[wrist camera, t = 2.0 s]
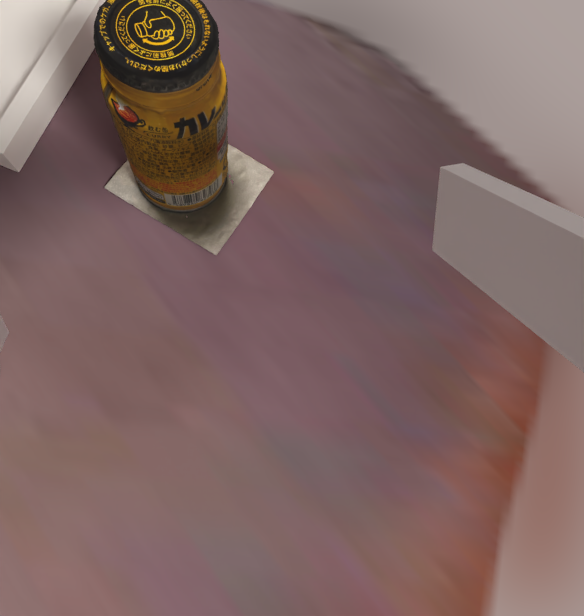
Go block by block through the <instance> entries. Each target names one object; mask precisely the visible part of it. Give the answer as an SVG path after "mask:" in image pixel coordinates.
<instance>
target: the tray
mask: <svg viewBox="0 0 584 616" xmlns="http://www.w3.org/2000/svg"><path fill="white" fill-rule="evenodd" d="M105 1H106V0H0V165H1V166H4V167H6V168H9V169H11V170H14V171H16V172H20V170H21V169H22V167H23V165H24V164H25V162H26V160H27V159H28V157H29V155H30V154H31V152H32V151H33V149H34V147H35V146H36V144H37V142H38V141H39V139H40V137H41V136H42V134H43V132H44V131H45V129H46V127H47V126H48V124H49V123H50V121H51V119H52V118H53V116H54V114H55V113H56V111H57V109H58V108H59V106H60V104H61V103H62V101H63V99H64V98H65V96H66V95H67V93H68V91H69V90H70V88H71V86H72V85H73V83H74V81H75V80H76V78H77V76H78V75H79V73H80V71H81V70H82V68H83V67H84V65H85V63H86V62H87V60H88V58H89V57H90V55H91V53H92V52H93V50H94V48H95V46H94V39H93V37H94V22H95V19H96V16H97V12H98V10H99V7H100V6H101V5H102V4H103V3H104V2H105Z"/></svg>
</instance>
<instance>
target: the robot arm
mask: <svg viewBox="0 0 584 616" xmlns="http://www.w3.org/2000/svg"><path fill="white" fill-rule="evenodd" d="M432 250H433V251H434V252H435V253H436V254H438V255H439V256H440V257H441V258H443V259H444V260H445V261H446V262H448V263H449V264H450V265H451V266H453V267H454V268H455V269H456V270H457V271H459V272H460V273H461V274H462V275H464V276H465V277H466V278H467V279H469V280H470V281H471V282H472V283H474V284H475V285H476V286H477V287H479V288H480V289H481V290H482V291H484V292H485V293H486V294H487V295H488V296H490V297H491V298H492V299H493V300H495V301H496V302H497V303H498V304H500V305H501V306H502V307H503V308H505V309H506V310H507V311H508V312H510V313H511V314H512V315H513V316H514V317H516V318H517V319H518V320H519V321H521V322H522V323H523V324H524V325H526V326H527V327H528V328H529V329H531V330H532V331H533V332H534V333H536V334H537V335H538V336H539V337H541V338H542V339H543V340H544V341H545V342H547V343H548V344H549V345H550V346H552V347H553V348H554V349H555V350H557V351H558V352H559V353H560V354H562V355H563V356H564V357H565V358H567V359H568V360H569V361H570V362H572V363H573V364H574V365H575V366H577V367H578V368H579V369H580V370H581V371H583V372H584V217H582V216H579V215H577V214H575V213H573V212H571V211H568V210H566V209H564V208H562V207H559V206H557V205H555V204H553V203H551V202H548V201H546V200H544V199H542V198H539V197H537V196H535V195H533V194H531V193H528V192H526V191H524V190H522V189H519V188H517V187H515V186H513V185H511V184H508V183H506V182H504V181H502V180H499V179H497V178H495V177H493V176H491V175H488V174H486V173H484V172H482V171H479V170H477V169H475V168H473V167H471V166H468V165H466V164H464V163H462V164H456V165H449V166H443V167H440V176H439V186H438V196H437V207H436V217H435V227H434V237H433V248H432ZM8 334H9V331H8V329H7V327H6V325H5V323H4V321H3V319H2V317H1V315H0V352H1V349H2V347H3V345H4V343H5V341H6V338H7V336H8Z"/></svg>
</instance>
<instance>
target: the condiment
mask: <svg viewBox="0 0 584 616" xmlns="http://www.w3.org/2000/svg"><path fill="white" fill-rule="evenodd" d="M218 34H219V32H218V27H217V24H216V22H215V20H214V19H213V17H212V16H211V14H210V12H209V11H208V10H207V8H206V6H205V4H204V3H203V2H202V1H200V0H106V1H105V2H104V3H103V4H102V5H101V6H100V7H99V10H98V12H97V16H96V19H95V22H94V37H93V39H94V46H95V48H96V51H97V53H98V56H99V59H100V65H101V87H102V91H103V95H104V98H105V101H106V104H107V107H108V109H109V111H110V113H111V116H112V119H113V122H114V125H115V128H116V130H117V132H118V135H119V138H120V140H121V143H122V145H123V148H124V151H125V154H126V157H127V159H128V160H127V161H126V162H125V164H123V165H122V167H121V168H120V169H119V170H118V171H117V172H116V174H115V175H114V176H113V177H112V178H111V180H110V181H109V182H108V183H107V185H106V186H105V187H104V188H105V189H107V190H109V191H110V192H112V193H113V194H115V195H117V196H118V197H120V198H122V199H123V200H125V201H126V202H128V203H130V204H131V205H133V206H135V207H136V208H138V209H139V210H141V211H143V212H144V213H146V214H148V215H150V216H151V217H153V218H154V219H156V220H158V221H160V222H161V223H163V224H165V225H167V226H168V227H170V228H172V229H174V230H175V231H176V232H178V233H180V234H181V235H183V236H185V237H186V238H188V239H189V240H191V241H193V242H194V243H196V244H198V245H200V246H202V247H203V248H205V249H207V250H208V251H210V252H211V253H213V254H215V255H217V254H218V252H219V251H220V249H221V248H222V246H223V245H224V244H225V243H226V241H227V240H228V238H229V237H230V236H231V234H232V233H233V231H234V230H235V228H236V227H237V226H238V224H239V223H240V221H241V220H242V218H243V217H244V215H245V214H246V213H247V211H248V210H249V208H250V207H251V206H252V204H253V202H254V201H255V199H256V198H257V196H258V195H259V193H260V192H261V191H262V189H263V188H264V186H265V185H266V183H267V182H268V180H269V179H270V177H271V176H272V174H273V173H274V172H273V171H272V170H270V169H268V168H267V167H266V166H264V165H262V164H261V163H259V162H257V161H255V160H254V159H252V158H251V157H249V156H248V155H245V154H244V153H242V152H240V151H239V150H238V149H236V148H234V147H232V146H230V145H229V144H228V140H227V139H228V136H227V116H228V107H227V104H228V99H227V92H228V89H227V78H226V72H225V69H224V66H223V64H222V62H221V59H220V52H219V48H218V47H219V38H218ZM229 175H231V178H229ZM231 180H233V182H234V183H233V184H232V183H231ZM186 216H187V217H186Z"/></svg>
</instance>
